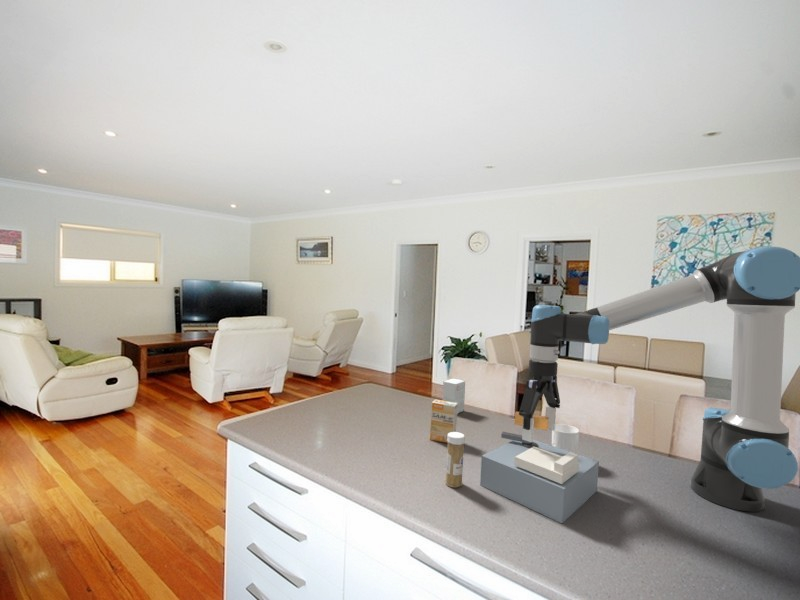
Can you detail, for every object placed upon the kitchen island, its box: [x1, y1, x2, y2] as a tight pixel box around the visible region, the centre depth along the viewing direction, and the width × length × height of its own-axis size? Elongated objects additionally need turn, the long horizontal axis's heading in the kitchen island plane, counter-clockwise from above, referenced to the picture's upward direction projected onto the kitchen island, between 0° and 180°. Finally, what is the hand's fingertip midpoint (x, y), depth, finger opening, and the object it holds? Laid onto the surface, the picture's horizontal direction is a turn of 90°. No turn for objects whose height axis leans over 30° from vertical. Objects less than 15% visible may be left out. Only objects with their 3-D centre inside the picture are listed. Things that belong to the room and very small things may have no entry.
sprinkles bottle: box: [445, 431, 466, 488], centre depth 104 cm, size 5×5×14 cm
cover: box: [514, 447, 579, 484], centre depth 97 cm, size 12×10×4 cm
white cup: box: [551, 423, 580, 454], centre depth 122 cm, size 8×8×10 cm
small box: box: [442, 378, 466, 415], centre depth 165 cm, size 8×6×13 cm
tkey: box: [500, 410, 549, 444], centre depth 113 cm, size 2×12×8 cm, turn 64°
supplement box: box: [429, 398, 458, 444], centre depth 134 cm, size 8×5×13 cm, turn 68°
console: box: [479, 439, 600, 524], centre depth 104 cm, size 22×22×8 cm
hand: (539, 434), depth 110 cm, fingers open, 13 cm apart
